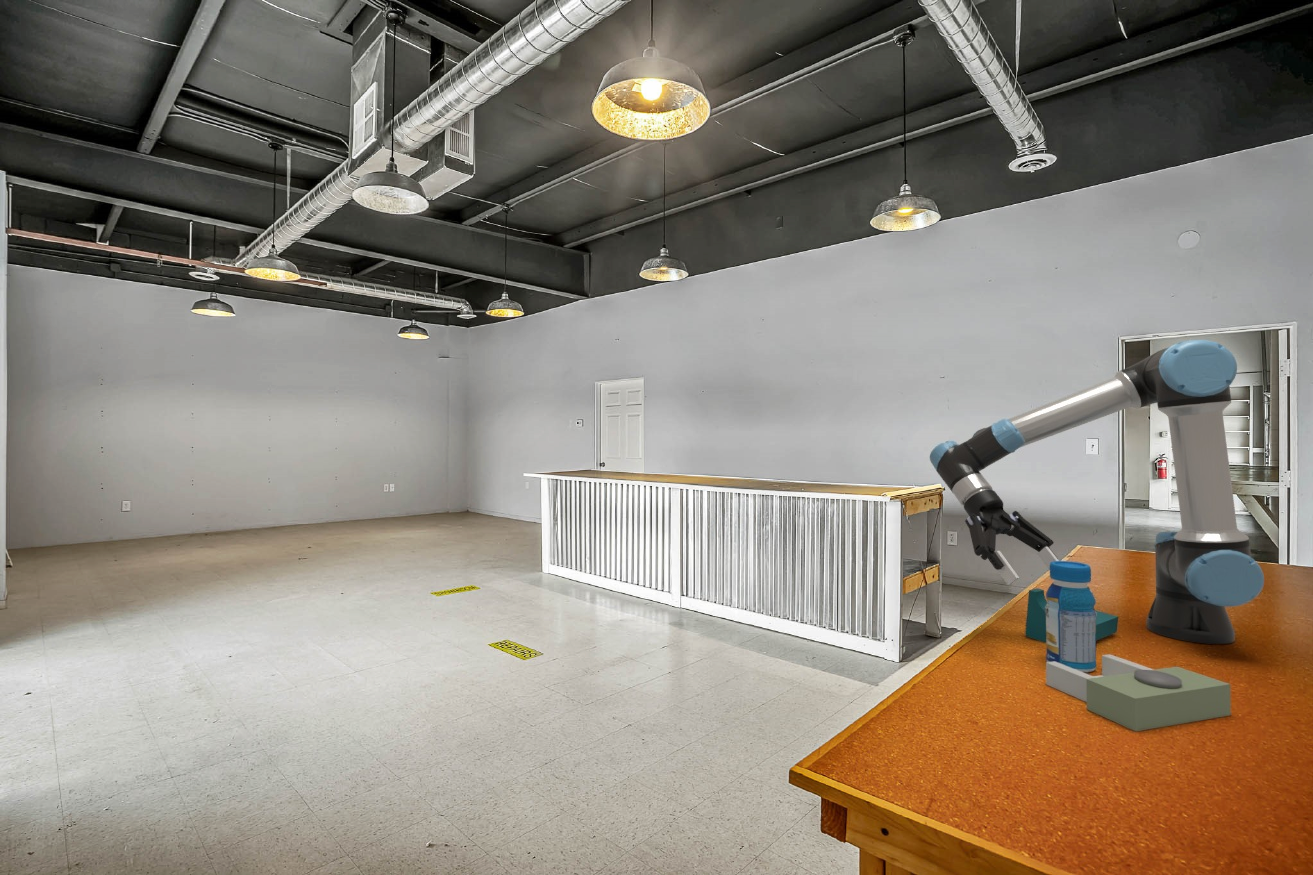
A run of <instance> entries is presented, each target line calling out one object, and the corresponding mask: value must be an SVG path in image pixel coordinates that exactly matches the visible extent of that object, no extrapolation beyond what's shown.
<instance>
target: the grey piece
mask: <svg viewBox="0 0 1313 875" xmlns="http://www.w3.org/2000/svg"><path fill="white" fill-rule="evenodd" d="M1045 664H1046V665H1045V680H1046V681H1045V685H1047V686H1049V687H1051V688H1053V689H1056V690H1058V691H1061V692H1063V693H1065V694H1066V695H1070V696H1071V697H1074V698H1076V699H1078V700H1080V701H1083V702H1085V703H1086V710H1087V711H1090V712H1092V713H1094V714H1096V715H1098V716H1101V717H1102V718H1105V719H1108V720H1110V721H1112V722H1114V723H1115V724H1116V723H1117V724H1118V725H1120V726H1123V727H1125V728H1127V729H1129V730H1131V731H1133V732H1140V731H1146V730H1152V729H1157V728H1164V727H1169V726H1176V725H1183V724H1187V723H1194V722H1199V721H1206V720H1209V719H1210V720H1212V719H1217V718H1222V717H1229V716H1231V715H1232V711H1231V710H1232V709H1231V708H1232V706H1231V703H1232V702H1231V701H1232V700H1231V699H1232V698H1231V696H1232V695H1231V694H1232V693H1231V690H1232V689H1231V683H1228V682H1225V681H1222V680H1219V679H1216V678H1213V677H1210V676H1207V675H1204V674H1201V673H1198V672H1195V671H1192V670H1188V669H1185V668H1183V667H1179V666H1173V667H1172V666H1171V667H1163V668H1156V669H1154V668H1150V667H1148V666H1145V665H1142V664H1140V663H1136V662H1133V661H1130V660H1128V659H1125V658H1121V657H1118V656H1117V655H1116V656H1115V655H1113V654H1110V653H1109V654H1102V655H1101V675H1100V674H1099V675H1091V674H1088V673H1087V672H1081V671H1078V670H1076V669H1073V668H1071V667H1068V666H1066V665H1063V664H1060V663H1058V662H1055V661H1053V662H1047V661H1046V663H1045Z"/></svg>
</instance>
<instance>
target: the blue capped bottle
mask: <svg viewBox="0 0 1313 875" xmlns="http://www.w3.org/2000/svg"><path fill="white" fill-rule="evenodd" d="M1049 577H1050V579H1051V580H1052V581H1053V582H1052V583H1051V584H1050V586H1049V587H1048V588H1047V590H1046V594H1045V599H1046V601H1047V602H1048V603H1047V604H1046V606H1045V613H1046V643H1045V644H1046V648H1045V649H1046V655H1045V657H1046V658H1045V660H1046V662H1053V661H1055V662H1058V663H1060V664H1063V665H1066V666H1068V667H1071V668H1073V669H1076V670H1078V671H1081V672H1083V673H1091V672H1094V671H1095V670H1096V669H1097V660H1096V659H1097V640H1096V619H1097V613H1096V611H1097V610H1096V609H1095V605H1096V604H1097V600H1096V597H1095V595H1094V592H1093V591H1092V590H1091V588H1090V587H1089V586H1088V585H1089V584H1090V583H1091V581H1092V568H1091V565H1089V564H1087V563H1084V562H1083V563H1082V562H1078V561H1072V560H1071V561H1070V560H1059V561H1053V562H1051V563H1050V570H1049ZM1095 610H1096V611H1095Z"/></svg>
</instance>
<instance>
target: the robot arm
mask: <svg viewBox="0 0 1313 875" xmlns="http://www.w3.org/2000/svg"><path fill="white" fill-rule="evenodd" d="M1237 371H1238V363H1237V360H1236V358H1235V356H1234V354H1233V353H1232V352H1231V351H1230V349H1228V348H1227V347H1225V346H1223V345H1222V344H1220V343H1218V342H1215V341H1213V340H1210V339H1209V340H1207V339H1191V340H1186V341H1182V342H1181V341H1180V342H1176V343H1175V344H1173V345H1171V346H1168V347H1166V348H1162V349H1160V350H1158V351H1156V352H1154V353H1153V354H1151V355H1149V356H1147V357H1146V358H1145V357H1144V358H1143V359H1141V361H1138V362H1137V363H1134V364H1132V365H1131V366H1128V367H1126V368H1124V369H1121V370H1118V371H1117V372H1116V373H1115V375H1114V377H1112V378H1110V379H1107V380H1105V381H1102V382H1100V383H1098V384H1095V385H1092V386H1090V387H1087V388H1084V389H1082V390H1079V391H1077V392H1074V393H1072V394H1069V395H1067V396H1064V397H1062V398H1059V399H1057V400H1054V401H1051V402H1048V403H1046V404H1043V405H1041V406H1039V407H1036V408H1033V409H1031V410H1028V411H1026V412H1023V413H1021V414H1018V415H1015V416H1012V417H1011V418H1008V419H1007V418H1003V419H1000V420H998V421H997V422H994V423H992V424H991V425H990V426H988V427H983V428H980V429H979V430H977V431H975V432H974V433H973V435H972V436H971V438H969V439H968V440H965V441H964V442H962V443H960V444H959V443H957V442H956V441H954V440H947V441H945V442H941V443H939V444H937V445H936V446H934V448H933V449H932V450H931V451H930V454H929V461H930V463H931V464H932V466H933V468H934V469H935V471H936V472H937V474H938V475H939V477H940V478H941V480H943V482H944V483H945V484H946V486H947V487H948V489H949V490H950V491H951V492H952V494H953V495H954V497H955V498H956V499H957V500H958V503H960V505H961V506H962V507H963V509H964V511H965V512H966V513H967V515H968V517H967V518H966V519H965V520H964V522H965V524H966V526H967V527H968V530H969V534H970V538H971V544H972V547H973V551H974V555H976V556H977V557H980V558H981V559H982V560H984V561H987V560H988V561H989V563H991V565H992V567H993V568H994V569H995V570H997V571H998V573H999V575H1000V576H1001V577H1002V579H1003V580H1004V582H1005V584H1007V586H1012V585H1013V584H1014V583H1016V581H1017V580H1019V579H1020V576H1019V575H1018V574H1017V572H1016V571H1015V569H1013V567H1012V566H1011V564H1010V563H1009V562H1008V560H1007V559H1006V557H1005V556H1004V555H1003V553H1002V552H1001V550H996V542H997V535H1000V534H1001V535H1007V536H1009V537H1014V538H1015V539H1017V540H1018V541H1020V542H1021V543H1024V544H1025V545H1026V546H1028V547H1030V548H1031V549H1033V550H1035V551H1037V552H1038V553H1036V555H1037V556H1038V558H1040V560H1041V561H1042V562H1043V564H1044V565H1045V567H1046V568H1047V569H1048V570H1049V571H1050V563H1051V562H1053V561H1060V560H1059V558H1058V556H1056V554H1055V553H1054V552H1053V550H1052V549H1051V546H1053V545H1054V542H1055V541H1054V540H1053V539H1052V538H1050V537H1049V536H1047V535H1046V534H1045V533H1044V532H1042V531H1041V530H1039V529H1038V528H1037V527H1036V526H1034V525H1033V524H1032V523H1031V522H1029V521H1028V520H1026V518H1024V517H1023V516H1022V514H1020V513H1019V512H1018V511H1017V510H1014V511H1012V513H1008V512H1006V511H1005V510H1004V502H1003V500H1002V498H1000V496H999V494H998V493H997V492H996V491H995V490H993V487H992V486H991V484H990V483H989V482H988V481H987V479H986V478H985V477H984V476H983V475H982V473H981V472H980V471H983V470H984V469H986V468H988V467H989V466H992V464H995V463H996V462H999V460H1001V459H1003V458H1005V457H1006V456H1008V455H1010V454H1013V453H1015V452H1016V451H1017V450H1018V449H1021V448H1022V447H1026V446H1027V445H1030V444H1033V443H1036V442H1039V441H1041V440H1045V439H1047V438H1049V437H1053V436H1055V435H1057V434H1060V433H1061V434H1062V433H1063V432H1066V431H1068V430H1071V429H1074V428H1077V427H1079V426H1082V425H1085V424H1087V423H1090V422H1092V421H1095V420H1099V419H1101V418H1104V417H1107V416H1110V415H1113V414H1115V413H1117V412H1121V411H1123V410H1126V409H1128V408H1132V409H1137V410H1139V409H1141V408H1143V407H1147V406H1150V405H1153V404H1157V410H1158V411H1160V412H1161V413H1163V414H1164V415H1166V416H1167V418H1168V426H1169V435H1170V442H1171V448H1172V458H1173V465H1174V474H1175V475H1174V476H1175V484H1176V491H1177V492H1176V493H1177V496H1178V497H1177V499H1178V506H1179V513H1180V514H1179V515H1180V523H1181V529H1180V530H1179V531H1177V532H1175V531H1160V532H1157V533H1156V536H1155V543H1154V549H1155V553H1154V555H1155V597H1154V599H1153V601H1152V605H1151V606H1150V608H1149V612H1148V614H1147V616H1146V628H1147V630H1149V631H1150V632H1152V633H1155V634H1157V635H1159V636H1163V637H1167V638H1170V639H1175V640H1178V641H1179V640H1180V641H1185V642H1191V643H1199V644H1206V645H1207V644H1208V645H1209V644H1210V645H1211V644H1212V645H1226V644H1227V645H1228V644H1232V643H1234V642H1235V638H1236V635H1235V634H1236V632H1235V629H1234V627H1233V623H1232V621H1231V619H1230V616H1229V614H1228V612H1227V611H1228V610H1226V608H1227V607H1229V608H1231V607H1238V606H1243V605H1246V604H1247V603H1250V602H1251V601H1253V600H1254V599H1255V598H1257V597H1258V595H1260V593H1261V591H1262V590H1263V589H1264V588H1263V587H1264V586H1265V575H1264V572H1263V570H1262V568H1261V566H1260V565H1259V563H1258V561H1256V560H1255V559H1254V558H1253V557H1252V555H1251V554H1252V553H1251V545H1250V538H1249V536H1248V535H1246V533H1244V532H1242V531H1241V530H1240V529H1238V525H1237V524H1238V523H1237V517H1236V516H1237V515H1236V509H1235V501H1234V495H1233V494H1234V493H1233V486H1232V484H1233V483H1232V476H1231V470H1230V462H1229V460H1230V459H1229V455H1228V454H1229V453H1228V447H1227V439H1226V429H1225V422H1224V413H1223V412H1224V410H1225V409H1226V408H1228V406H1230V405H1231V404H1232V398H1231V397H1232V396H1231V389H1230V386H1231V385H1232V384H1233V382H1234V380H1235V378H1236V375H1237V374H1238V372H1237Z"/></svg>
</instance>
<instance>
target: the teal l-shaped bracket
mask: <svg viewBox="0 0 1313 875" xmlns="http://www.w3.org/2000/svg"><path fill="white" fill-rule="evenodd" d="M1027 596H1028V599H1027V608H1026V609H1027V612H1026V620H1025V632H1024V637H1027V638H1030V639H1033V640H1036V641H1039V642H1041V643H1045V644H1046V613H1045V606H1046V604H1047V603H1048V601H1047V599H1046V595H1045V589H1041V588H1038V587H1037V588H1033V589H1028V595H1027ZM1095 611H1096V613H1097V619H1096V641H1098V640H1101V639H1104V638H1106V637H1109V636H1111V635H1114V634H1117V632H1118V624H1119V616H1117V615H1113V614H1110V613H1107V612H1103V611H1100V610H1096V609H1095Z"/></svg>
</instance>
